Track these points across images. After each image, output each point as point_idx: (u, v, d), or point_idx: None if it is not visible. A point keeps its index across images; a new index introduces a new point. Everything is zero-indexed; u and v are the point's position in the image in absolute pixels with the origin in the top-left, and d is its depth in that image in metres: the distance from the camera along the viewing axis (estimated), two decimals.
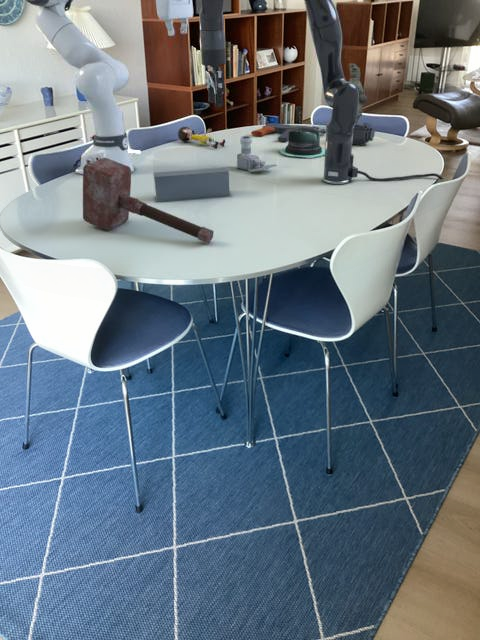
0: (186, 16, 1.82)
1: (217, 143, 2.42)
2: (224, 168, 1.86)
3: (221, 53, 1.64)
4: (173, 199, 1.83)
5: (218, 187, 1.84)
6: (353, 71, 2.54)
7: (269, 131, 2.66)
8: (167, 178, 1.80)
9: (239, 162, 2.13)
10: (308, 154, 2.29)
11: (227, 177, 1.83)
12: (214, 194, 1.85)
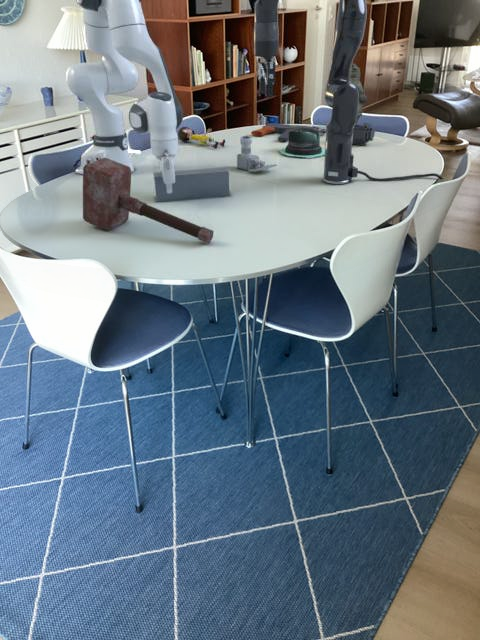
0: None
1: (217, 143, 2.42)
2: (224, 168, 1.86)
3: (274, 44, 1.67)
4: (173, 199, 1.83)
5: (218, 187, 1.84)
6: (353, 71, 2.54)
7: (269, 131, 2.66)
8: None
9: (239, 162, 2.13)
10: (308, 154, 2.29)
11: (227, 177, 1.83)
12: (214, 194, 1.85)
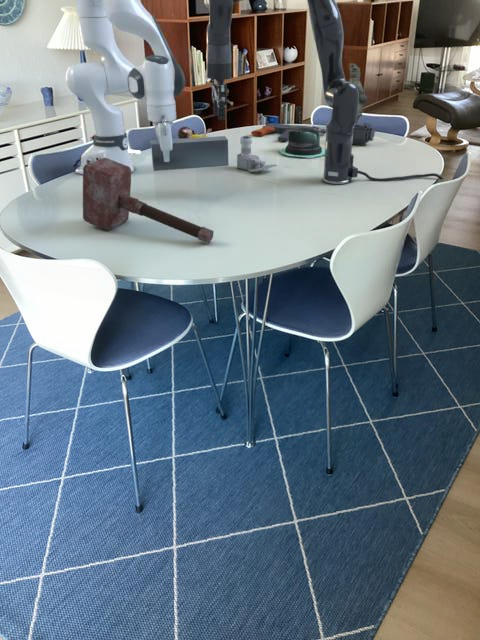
0: None
1: None
2: (222, 137, 1.80)
3: (226, 67, 1.66)
4: (170, 168, 1.78)
5: (216, 156, 1.79)
6: (353, 71, 2.54)
7: (269, 131, 2.66)
8: None
9: (239, 162, 2.13)
10: (308, 154, 2.29)
11: (226, 146, 1.78)
12: (213, 163, 1.80)
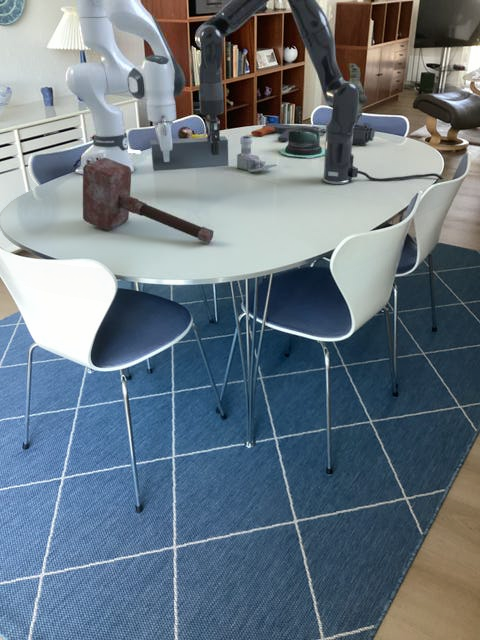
0: None
1: None
2: (222, 137, 1.80)
3: (218, 104, 1.71)
4: (170, 168, 1.78)
5: (216, 156, 1.79)
6: (353, 71, 2.54)
7: (269, 131, 2.66)
8: None
9: (239, 162, 2.13)
10: (308, 154, 2.29)
11: (226, 146, 1.78)
12: (213, 164, 1.80)
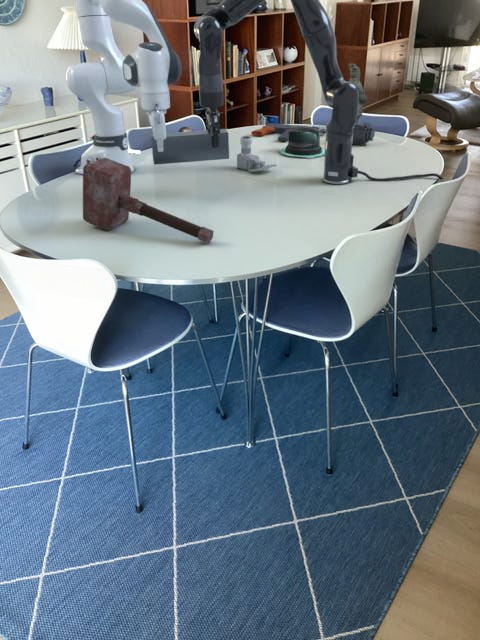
0: None
1: None
2: (223, 130, 1.79)
3: (218, 96, 1.70)
4: (171, 162, 1.77)
5: (217, 149, 1.78)
6: (353, 71, 2.54)
7: (269, 131, 2.66)
8: (164, 139, 1.73)
9: (239, 162, 2.13)
10: (308, 154, 2.29)
11: (226, 138, 1.77)
12: (213, 157, 1.79)
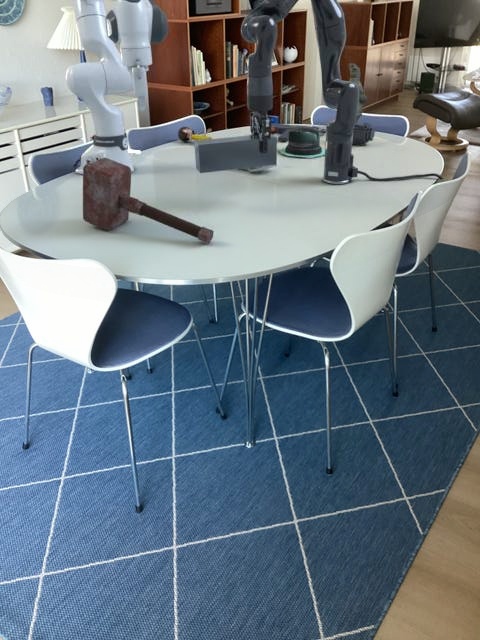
0: None
1: None
2: None
3: (269, 99, 1.61)
4: (217, 169, 1.67)
5: (265, 155, 1.69)
6: (353, 71, 2.54)
7: None
8: (211, 145, 1.63)
9: None
10: (308, 154, 2.29)
11: (275, 143, 1.68)
12: (261, 163, 1.70)
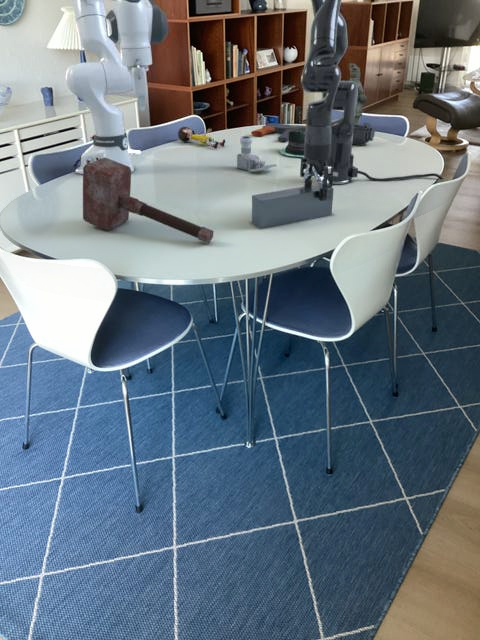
0: None
1: (217, 143, 2.42)
2: None
3: (328, 148, 1.57)
4: (277, 224, 1.62)
5: (321, 206, 1.66)
6: (353, 71, 2.54)
7: (269, 131, 2.66)
8: (273, 200, 1.58)
9: (239, 162, 2.13)
10: None
11: (331, 194, 1.65)
12: (317, 214, 1.67)
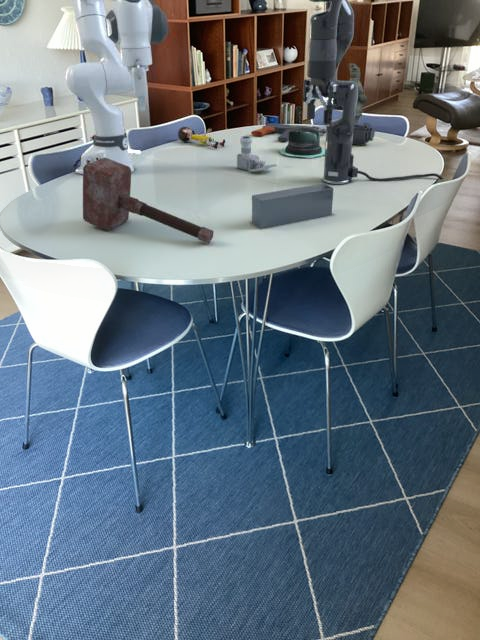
0: None
1: (217, 143, 2.42)
2: (323, 185, 1.67)
3: (333, 64, 1.46)
4: (277, 224, 1.62)
5: (321, 206, 1.66)
6: (353, 71, 2.54)
7: (269, 131, 2.66)
8: (273, 200, 1.58)
9: (239, 162, 2.13)
10: (308, 154, 2.29)
11: (331, 194, 1.65)
12: (317, 214, 1.67)
